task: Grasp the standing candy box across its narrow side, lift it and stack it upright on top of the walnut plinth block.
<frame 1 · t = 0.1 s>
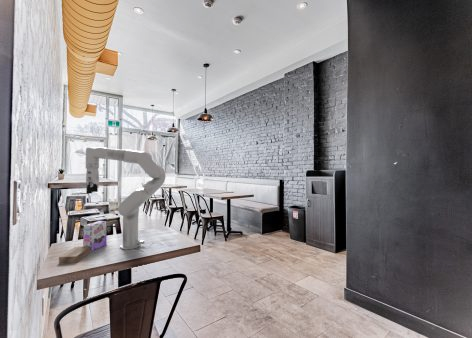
hand: (92, 192, 155), 36 cm above the table, tool pointing down, fingers open, 9 cm apart
walnut plinth: (75, 258, 140), on the table
candy box: (95, 248, 156), on the table
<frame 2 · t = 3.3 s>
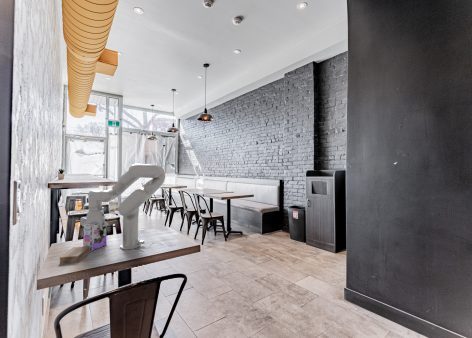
hand: (95, 235, 156), 8 cm above the table, tool pointing down, fingers closed on candy box, 7 cm apart
candy box: (95, 248, 156), on the table, touching gripper
everything else where it was.
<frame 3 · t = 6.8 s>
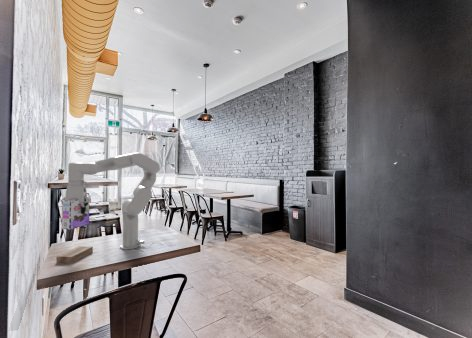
hand: (76, 213, 140), 26 cm above the table, tool pointing down, fingers closed on candy box, 7 cm apart
candy box: (76, 227, 140), point 18 cm above the table, touching gripper
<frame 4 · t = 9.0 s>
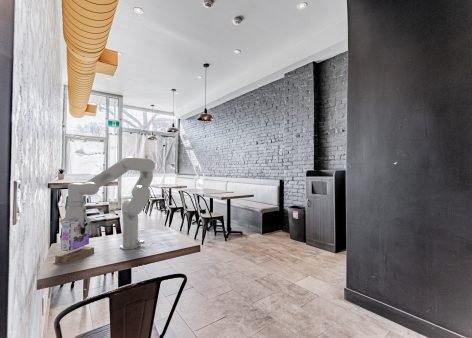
hand: (75, 233, 140), 14 cm above the table, tool pointing down, fingers closed on candy box, 7 cm apart
candy box: (75, 247, 140), point 6 cm above the table, touching gripper
when the fingers open (13 cm above the table, at t = 10.2 s): candy box drops 1 cm, resting on walnut plinth.
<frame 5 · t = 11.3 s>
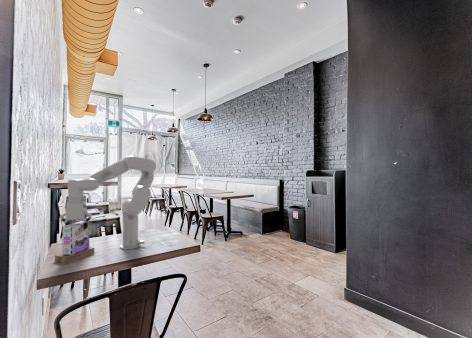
hand: (76, 229, 140), 16 cm above the table, tool pointing down, fingers open, 9 cm apart
walnut plinth: (75, 258, 140), on the table, touching candy box
candy box: (76, 251, 140), point 3 cm above the table, touching walnut plinth
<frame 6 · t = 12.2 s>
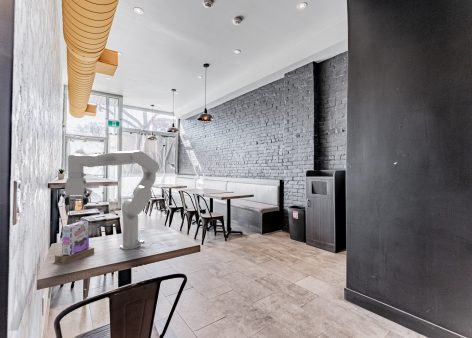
hand: (76, 204, 140), 31 cm above the table, tool pointing down, fingers open, 9 cm apart
nothing on the table moved.
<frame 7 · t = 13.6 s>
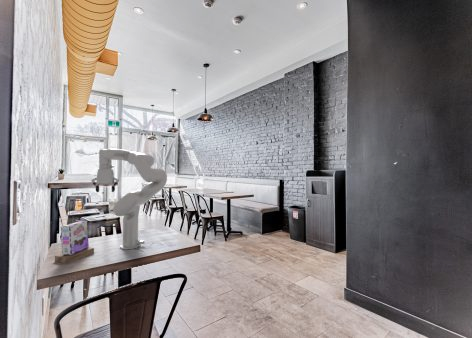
hand: (105, 191, 164), 36 cm above the table, tool pointing down, fingers open, 9 cm apart
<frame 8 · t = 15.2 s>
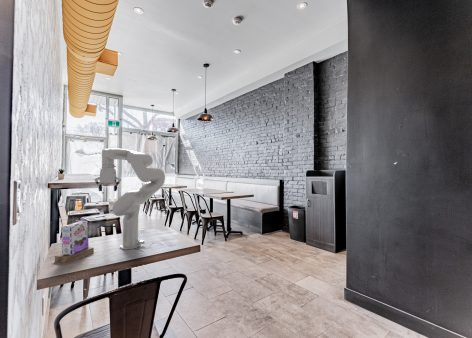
hand: (108, 191, 166), 36 cm above the table, tool pointing down, fingers open, 9 cm apart
nothing on the table moved.
at the end: candy box 0.4 cm off-centre on the walnut plinth, point 3.9 cm above the walnut plinth's base; candy box tilted 2°; the gripper is holding nothing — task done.
